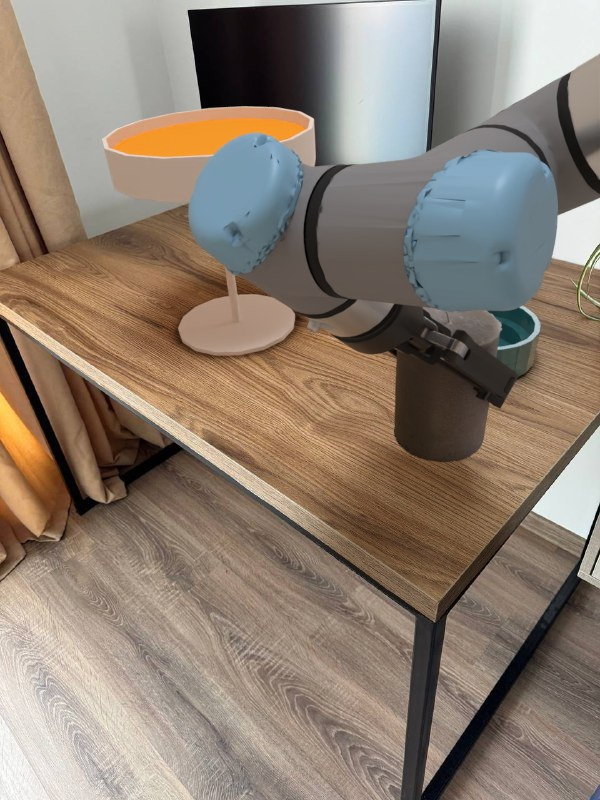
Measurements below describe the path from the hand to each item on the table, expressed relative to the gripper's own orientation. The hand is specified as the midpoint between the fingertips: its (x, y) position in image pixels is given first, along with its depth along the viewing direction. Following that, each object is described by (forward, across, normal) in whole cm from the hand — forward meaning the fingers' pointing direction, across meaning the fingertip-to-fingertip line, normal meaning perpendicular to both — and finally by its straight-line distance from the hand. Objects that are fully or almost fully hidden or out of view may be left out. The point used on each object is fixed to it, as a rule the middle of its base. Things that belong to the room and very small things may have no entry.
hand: (460, 376), depth 62 cm
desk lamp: (+12, -46, -6) cm, 48 cm away
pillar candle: (+2, 0, -6) cm, 7 cm away
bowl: (+25, -11, +7) cm, 28 cm away
